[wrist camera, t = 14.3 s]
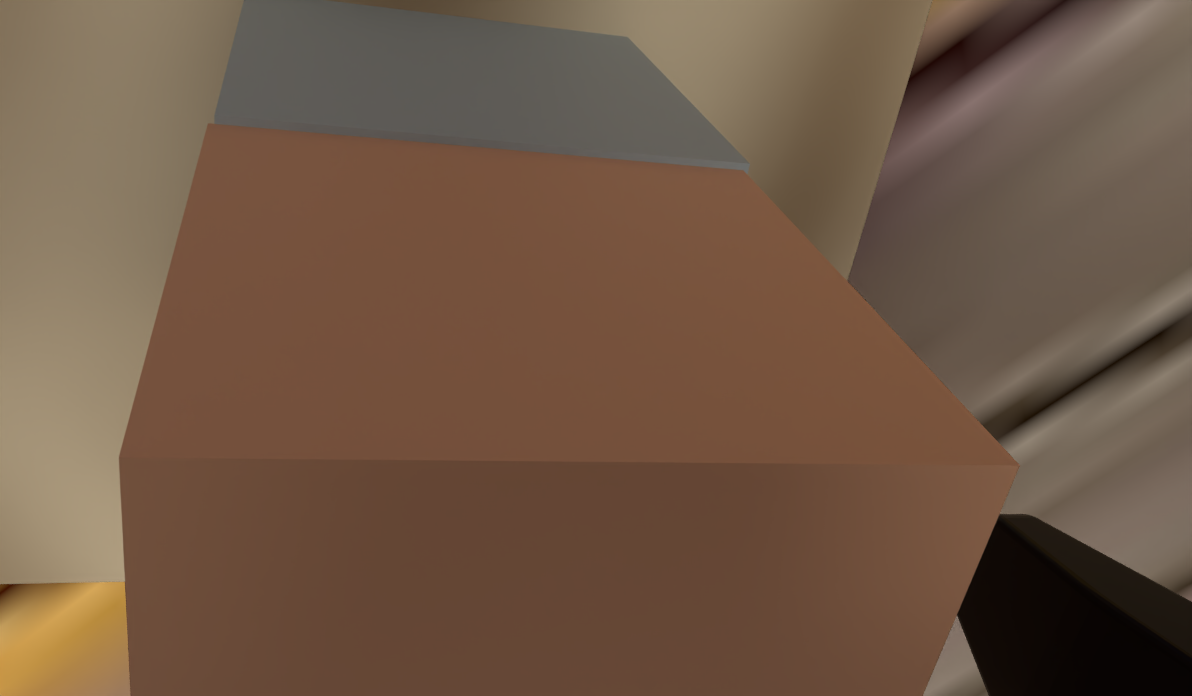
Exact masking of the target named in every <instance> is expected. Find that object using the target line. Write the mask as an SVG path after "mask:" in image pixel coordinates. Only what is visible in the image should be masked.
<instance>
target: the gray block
mask: <svg viewBox="0 0 1192 696" xmlns="http://www.w3.org/2000/svg"><path fill="white" fill-rule="evenodd" d="M214 124H222V125H233V126H245V127H256V128H267V129H279V130H290V131H302V132H313V133H324V134H336V135H347V136H359V137H370V138H381V139H393V140H404V141H416V142H427V143H438V144H450V145H461V146H473V147H484V148H496V149H507V150H518V151H530V152H541V153H553V154H564V155H575V156H587V157H598V158H610V159H621V160H632V161H644V162H655V163H667V164H678V165H689V166H701V167H712V168H724V169H735V170H744V171H745V173H746V174H748V170H749V166H750V163H749V162H748V161H747V160H746V159H745V158H744V157H743V156H742V155H741V154H740V153H739V152H738V151H737V150H736V149H735V148H734V147H733V146H732V145H731V144H730V143H729V142H728V141H727V139H726V138H725V137H724V136H723V135H722V134H721V133H720V132H719V131H718V130H717V129H716V128H715V127H714V126H713V125H712V124H711V123H710V122H709V121H708V120H707V119H706V118H705V117H704V116H703V115H702V114H701V113H700V112H699V110H698V109H697V108H696V107H695V106H694V105H693V104H692V103H691V102H690V101H689V100H688V99H687V98H686V97H685V96H684V95H683V94H682V93H681V92H680V91H679V90H678V89H677V88H676V87H675V86H674V85H673V84H672V82H671V81H670V80H669V79H668V78H667V77H666V76H665V75H664V74H663V73H662V72H661V71H660V70H659V69H658V68H657V67H656V66H655V65H654V64H653V63H652V62H651V61H650V60H649V59H648V58H647V57H646V56H645V54H644V53H643V52H642V51H641V50H640V49H639V48H638V47H637V46H636V45H635V44H634V43H633V42H632V41H631V40H630V39H629V38H628V37H624V36H616V35H608V34H599V33H591V32H583V31H575V30H566V29H558V28H550V27H542V26H533V25H525V24H517V23H509V22H500V21H492V20H484V19H476V18H468V17H459V16H451V15H443V14H435V13H426V12H418V11H410V10H402V9H393V8H385V7H377V6H369V5H360V4H352V3H344V2H336V1H328V0H244V2H243V5H242V9H241V13H240V17H239V21H238V25H237V29H236V33H235V37H234V41H233V45H232V48H231V52H230V56H229V60H228V64H227V68H226V72H225V76H224V80H223V84H222V88H221V91H220V95H219V99H218V103H217V107H216V111H215V115H214Z"/></svg>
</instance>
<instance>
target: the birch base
mask: <svg viewBox="0 0 1192 696" xmlns="http://www.w3.org/2000/svg"><path fill="white" fill-rule="evenodd" d="M328 1H336V2H344V3H352V4H360V5H369V6H377V7H385V8H393V9H402V10H410V11H418V12H426V13H435V14H443V15H451V16H459V17H468V18H476V19H484V20H492V21H500V22H509V23H517V24H525V25H533V26H542V27H550V28H558V29H566V30H575V31H583V32H591V33H599V34H608V35H616V36H624V37H628V38H629V39H630V40H631V41H632V42H633V43H634V44H635V45H636V46H637V47H638V48H639V49H640V50H641V51H642V52H643V53H644V54H645V56H646V57H647V58H648V59H649V60H650V61H651V62H652V63H653V64H654V65H655V66H656V67H657V68H658V69H659V70H660V71H661V72H662V73H663V74H664V75H665V76H666V77H667V78H668V79H669V80H670V81H671V82H672V84H673V85H674V86H675V87H676V88H677V89H678V90H679V91H680V92H681V93H682V94H683V95H684V96H685V97H686V98H687V99H688V100H689V101H690V102H691V103H692V104H693V105H694V106H695V107H696V108H697V109H698V110H699V112H700V113H701V114H702V115H703V116H704V117H705V118H706V119H707V120H708V121H709V122H710V123H711V124H712V125H713V126H714V127H715V128H716V129H717V130H718V131H719V132H720V133H721V134H722V135H723V136H724V137H725V138H726V139H727V141H728V142H729V143H730V144H731V145H732V146H733V147H734V148H735V149H736V150H737V151H738V152H739V153H740V154H741V155H742V156H743V157H744V158H745V159H746V160H747V161H748V162H749V163H750V166H749V170H748V174H747V175H748V176H749V177H750V178H751V179H752V180H753V181H754V182H755V183H756V184H757V185H758V186H759V187H760V189H761V190H762V191H763V192H764V193H765V194H766V195H767V196H768V197H769V198H770V199H771V200H772V201H773V202H774V203H775V205H776V206H777V207H778V208H779V209H780V210H781V211H782V212H783V213H784V214H785V215H786V216H787V217H788V218H789V220H790V221H791V222H792V223H793V224H794V225H795V226H796V227H797V228H798V229H799V230H800V231H801V232H802V233H803V234H804V236H805V237H806V238H807V239H808V240H809V241H810V242H811V243H812V244H813V245H814V246H815V247H816V248H817V249H818V250H819V252H820V253H821V254H822V255H823V256H824V257H825V258H826V259H827V260H828V261H829V262H830V263H831V264H832V265H833V266H834V268H835V269H836V270H837V271H838V272H839V273H840V274H841V275H842V276H843V277H844V278H845V279H846V280H848V277H849V274H850V270H851V267H852V264H853V260H854V257H855V254H856V251H857V247H858V244H859V241H860V237H861V234H862V231H863V228H864V224H865V221H866V218H867V214H868V211H869V208H870V204H871V201H872V198H873V195H874V191H875V188H876V185H877V181H878V178H879V175H880V172H881V168H882V165H883V162H884V158H885V155H886V152H887V148H888V145H889V142H890V139H891V135H892V132H893V129H894V125H895V122H896V119H897V116H898V112H899V109H900V106H901V102H902V99H903V96H904V92H905V89H906V86H907V83H908V79H909V76H910V73H911V69H912V66H913V63H914V60H915V56H916V53H917V50H918V46H919V43H920V40H921V36H922V33H923V30H924V27H925V23H926V20H927V17H928V13H929V10H930V7H931V4H932V0H328ZM243 2H244V0H0V584H26V583H79V582H125V572H124V553H123V533H122V513H121V493H120V473H119V455H120V451H121V447H122V443H123V440H124V436H125V432H126V428H127V425H128V421H129V417H130V413H131V410H132V406H133V402H134V398H135V395H136V391H137V387H138V383H139V380H140V376H141V372H142V368H143V365H144V361H145V357H146V353H147V350H148V346H149V342H150V338H151V335H152V331H153V327H154V323H155V320H156V316H157V312H158V308H159V305H160V301H161V297H162V293H163V290H164V286H165V282H166V278H167V275H168V271H169V267H170V263H171V260H172V256H173V252H174V248H175V245H176V241H177V237H178V233H179V230H180V226H181V222H182V218H183V215H184V211H185V207H186V203H187V200H188V196H189V192H190V188H191V185H192V181H193V177H194V173H195V170H196V166H197V162H198V158H199V155H200V151H201V147H202V144H203V140H204V136H205V132H206V129H207V125H208V123H211V124H214V115H215V111H216V107H217V103H218V99H219V95H220V91H221V88H222V84H223V80H224V76H225V72H226V68H227V64H228V60H229V56H230V52H231V48H232V45H233V41H234V37H235V33H236V29H237V25H238V21H239V17H240V13H241V9H242V5H243Z"/></svg>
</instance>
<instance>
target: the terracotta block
mask: <svg viewBox="0 0 1192 696" xmlns="http://www.w3.org/2000/svg"><path fill="white" fill-rule="evenodd" d="M1019 467H1020V465H1019V464H1018V463H1017V462H1016V461H1015V460H1014V459H1013V458H1012V457H1011V456H1010V454H1009V453H1008V452H1007V451H1006V450H1005V449H1004V448H1003V447H1002V446H1001V445H1000V444H999V443H998V442H997V441H996V439H995V438H994V437H993V436H992V435H991V434H990V433H989V432H988V431H987V430H986V429H985V428H984V427H983V426H982V425H981V423H980V422H979V421H978V420H977V419H976V418H975V417H974V416H973V415H972V414H971V413H970V412H969V411H968V410H967V409H966V407H965V406H964V405H963V404H962V403H961V402H960V401H959V400H958V399H957V398H956V397H955V396H954V395H953V394H952V393H951V391H950V390H949V389H948V388H947V387H946V386H945V385H944V384H943V383H942V382H941V381H940V380H939V379H938V378H937V376H936V375H935V374H934V373H933V372H932V371H931V370H930V369H929V368H928V367H927V366H926V365H925V364H924V363H923V362H922V360H921V359H920V358H919V357H918V356H917V355H916V354H915V353H914V352H913V351H912V350H911V349H910V348H909V347H908V346H907V344H906V343H905V342H904V341H903V340H902V339H901V338H900V337H899V336H898V335H897V334H896V333H895V332H894V331H893V329H892V328H891V327H890V326H889V325H888V324H887V323H886V322H885V321H884V320H883V319H882V318H881V317H880V316H879V315H878V313H877V312H876V311H875V310H874V309H873V308H872V307H871V306H870V305H869V304H868V303H867V302H866V301H865V300H864V299H863V297H862V296H861V295H860V294H859V293H858V292H857V291H856V290H855V289H854V288H853V287H852V286H851V285H850V284H849V283H848V281H847V280H846V279H845V278H844V277H843V276H842V275H841V274H840V273H839V272H838V271H837V270H836V269H835V268H834V266H833V265H832V264H831V263H830V262H829V261H828V260H827V259H826V258H825V257H824V256H823V255H822V254H821V253H820V252H819V250H818V249H817V248H816V247H815V246H814V245H813V244H812V243H811V242H810V241H809V240H808V239H807V238H806V237H805V236H804V234H803V233H802V232H801V231H800V230H799V229H798V228H797V227H796V226H795V225H794V224H793V223H792V222H791V221H790V220H789V218H788V217H787V216H786V215H785V214H784V213H783V212H782V211H781V210H780V209H779V208H778V207H777V206H776V205H775V203H774V202H773V201H772V200H771V199H770V198H769V197H768V196H767V195H766V194H765V193H764V192H763V191H762V190H761V189H760V187H759V186H758V185H757V184H756V183H755V182H754V181H753V180H752V179H751V178H750V177H749V176H748V175H747V174H746V173H745V171H744V170H735V169H724V168H712V167H701V166H689V165H678V164H667V163H655V162H644V161H632V160H621V159H610V158H598V157H587V156H575V155H564V154H553V153H541V152H530V151H518V150H507V149H496V148H484V147H473V146H461V145H450V144H438V143H427V142H416V141H404V140H393V139H381V138H370V137H359V136H347V135H336V134H324V133H313V132H302V131H290V130H279V129H267V128H256V127H245V126H233V125H222V124H211V123H208V125H207V129H206V132H205V136H204V140H203V144H202V147H201V151H200V155H199V158H198V162H197V166H196V170H195V173H194V177H193V181H192V185H191V188H190V192H189V196H188V200H187V203H186V207H185V211H184V215H183V218H182V222H181V226H180V230H179V233H178V237H177V241H176V245H175V248H174V252H173V256H172V260H171V263H170V267H169V271H168V275H167V278H166V282H165V286H164V290H163V293H162V297H161V301H160V305H159V308H158V312H157V316H156V320H155V323H154V327H153V331H152V335H151V338H150V342H149V346H148V350H147V353H146V357H145V361H144V365H143V368H142V372H141V376H140V380H139V383H138V387H137V391H136V395H135V398H134V402H133V406H132V410H131V413H130V417H129V421H128V425H127V428H126V432H125V436H124V440H123V443H122V447H121V451H120V455H119V473H120V493H121V513H122V533H123V553H124V572H125V592H126V612H127V632H128V652H129V672H130V691H131V696H923V694H924V691H925V689H926V687H927V684H928V682H929V679H930V677H931V675H932V672H933V670H934V668H935V665H936V663H937V661H938V658H939V656H940V653H941V651H942V649H943V646H944V644H945V642H946V639H947V637H948V635H949V632H950V630H951V627H952V625H953V623H954V620H955V618H956V616H957V613H958V611H959V609H960V606H961V604H962V601H963V599H964V597H965V594H966V592H967V590H968V587H969V585H970V583H971V580H972V578H973V575H974V573H975V571H976V568H977V566H978V564H979V561H980V559H981V556H982V554H983V552H984V549H985V547H986V545H987V542H988V540H989V538H990V535H991V533H992V530H993V528H994V526H995V523H996V521H997V519H998V516H999V514H1000V512H1001V509H1002V507H1003V504H1004V502H1005V500H1006V497H1007V495H1008V493H1009V490H1010V488H1011V486H1012V483H1013V481H1014V478H1015V476H1016V474H1017V471H1018V469H1019Z"/></svg>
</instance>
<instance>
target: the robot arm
mask: <svg viewBox="0 0 1192 696" xmlns="http://www.w3.org/2000/svg"><path fill="white" fill-rule="evenodd" d="M957 616H958V619H959V621H960V624H961V626H962V629H963V631H964V634H965V636H966V639H967V641H968V644H969V646H970V649H971V652H972V654H973V657H974V659H975V662H976V664H977V667H978V669H979V672H980V674H981V677H982V679H983V682H984V685H985V687H986V690H987V692H988V695H989V696H1192V602H1191V601H1189V600H1187V599H1186V598H1184V597H1182V596H1180V595H1178V594H1176V593H1174V592H1173V591H1171V590H1169V589H1167V588H1165V587H1163V586H1162V585H1160V584H1158V583H1156V582H1154V581H1152V580H1150V579H1149V578H1147V577H1145V576H1143V575H1141V574H1139V573H1137V572H1136V571H1134V570H1132V569H1130V568H1128V567H1126V566H1125V565H1123V564H1121V563H1119V562H1117V561H1115V560H1113V559H1112V558H1110V557H1108V556H1106V555H1104V554H1102V553H1100V552H1099V551H1097V550H1095V549H1093V548H1091V547H1089V546H1088V545H1086V544H1084V543H1082V542H1080V541H1078V540H1076V539H1075V538H1073V537H1071V536H1069V535H1067V534H1065V533H1063V532H1062V531H1060V530H1058V529H1056V528H1054V527H1052V526H1051V525H1049V524H1047V523H1045V522H1043V521H1041V520H1039V519H1038V518H1036V517H1033V516H1030V515H1026V514H999V516H998V519H997V521H996V523H995V526H994V528H993V530H992V533H991V535H990V538H989V540H988V542H987V545H986V547H985V549H984V552H983V554H982V556H981V559H980V561H979V564H978V566H977V568H976V571H975V573H974V575H973V578H972V580H971V583H970V585H969V587H968V590H967V592H966V594H965V597H964V599H963V601H962V604H961V606H960V609H959V611H958V613H957Z"/></svg>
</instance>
